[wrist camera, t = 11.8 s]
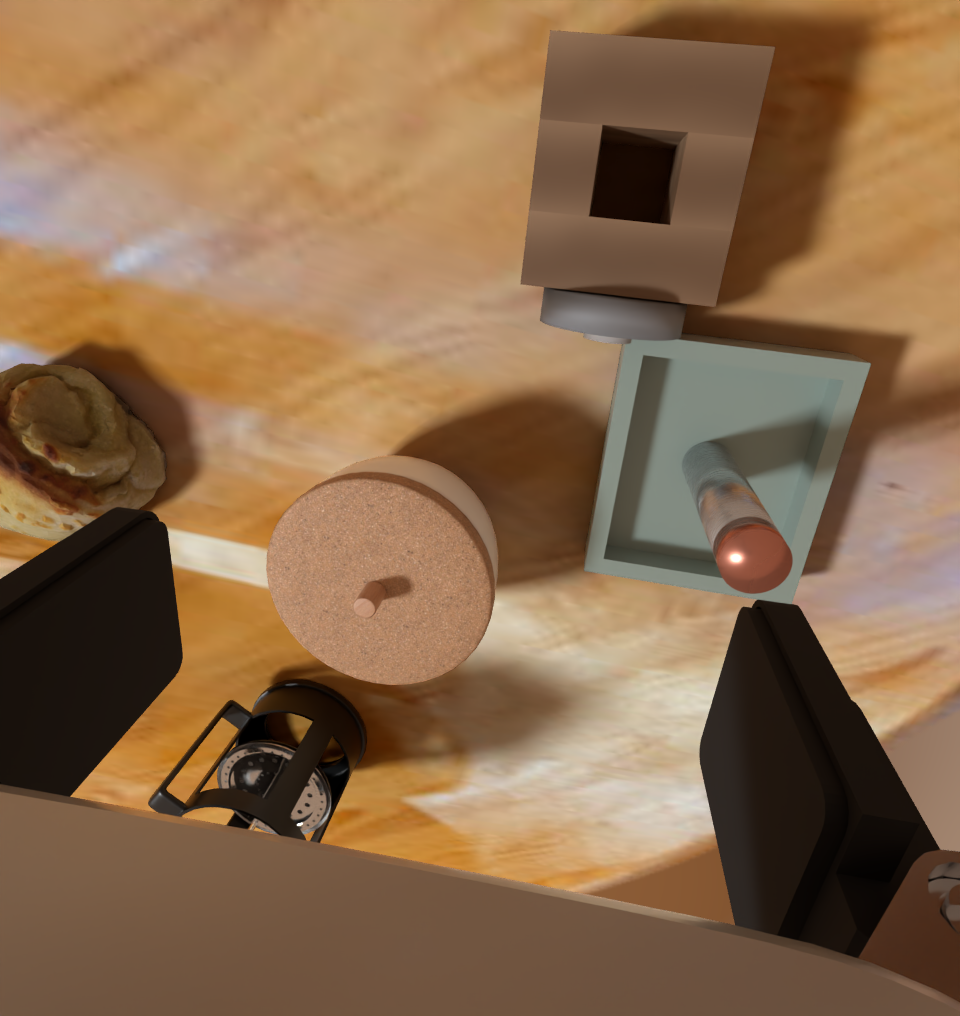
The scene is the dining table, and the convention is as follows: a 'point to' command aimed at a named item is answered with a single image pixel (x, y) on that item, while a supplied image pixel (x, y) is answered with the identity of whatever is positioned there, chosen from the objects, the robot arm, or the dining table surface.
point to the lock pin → (735, 521)
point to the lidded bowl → (386, 570)
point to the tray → (731, 422)
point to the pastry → (69, 451)
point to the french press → (277, 764)
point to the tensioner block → (690, 188)
